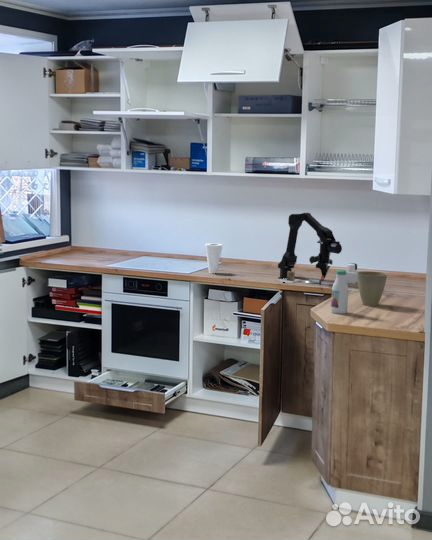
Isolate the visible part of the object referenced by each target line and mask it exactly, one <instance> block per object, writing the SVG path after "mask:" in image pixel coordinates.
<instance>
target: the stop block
mask: <svg viewBox="0 0 432 540" xmlns="http://www.w3.org/2000/svg"><path fill="white" fill-rule="evenodd" d="M295 277H296V272H295V271H288V272H287V281H295V279H296V278H295Z"/></svg>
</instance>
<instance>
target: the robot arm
mask: <svg viewBox="0 0 432 540" xmlns="http://www.w3.org/2000/svg"><path fill="white" fill-rule="evenodd" d="M304 221H305V222H306V223H307V224H308V225H309V226H310V227H311V228H312V229H313V230H314V231H315V233H316V235H317V237H318V238H319V240H318V241H316V243H318V244H319V253H318V255H315V256H314V255H313V256H310V258H309V260H308V261H309V263H310V264H311V265H312V264H313V263H314V264H315V263H316V264H315V269H320V272H321V275H324V279H326V276H327V274H328V272H329V270H330V268H331V266H332V265H333V259H330V257H331V254H337V255H338V254H340V253H342V250H343V247H342V245H341V242H340V241H336V240H337V239H336V238H335V236H334V233H333V231H332V230H331V229H330V228H329V227H326V226H324V225H322V224H321V223H320V222H319V221H318V220H317V219H316V218H315V217H314V216H312V214H311V213H310V212H303V213H291V214H290V215H288V221H287V223H288V226H289V233H288V238H287V244H286V248H285V249H286V251H285V252H284V254H283V255H282V257H281V260H280V262H279V263H278V264H277V268H278V269H279V277H278V279H281V278H284V279H286V278H287V272H288V271H292V269H294V268H295V265H296V264H297V259H298V256H297V255H296V252H295V250H296V244H297V238H298V235H299V229H300V228H301V226H302V225H303V222H304ZM330 265H331V266H330Z"/></svg>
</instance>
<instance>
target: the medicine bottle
mask: <svg viewBox="0 0 432 540" xmlns="http://www.w3.org/2000/svg"><path fill="white" fill-rule="evenodd" d="M345 271H346V276H345V278H346V282H347V284H358V280H357V272H359V271H358V264H357V263H354V262H348V263H347V264H346V270H345Z"/></svg>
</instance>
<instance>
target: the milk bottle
mask: <svg viewBox="0 0 432 540" xmlns="http://www.w3.org/2000/svg"><path fill="white" fill-rule="evenodd" d="M346 271H347V270H341V269H340V270H339V269H337V270H336V272H335V275H336V278H335V280H334V282H333V283H332V288H331V301H330V312H331V313H333V314H338V315H339V314H342V315H343V314H345V315H346V314H347V313H348V309H349V308H348V307H349V306H348V305H349V286H348V283H347V282H346V278H345V276H346Z"/></svg>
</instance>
